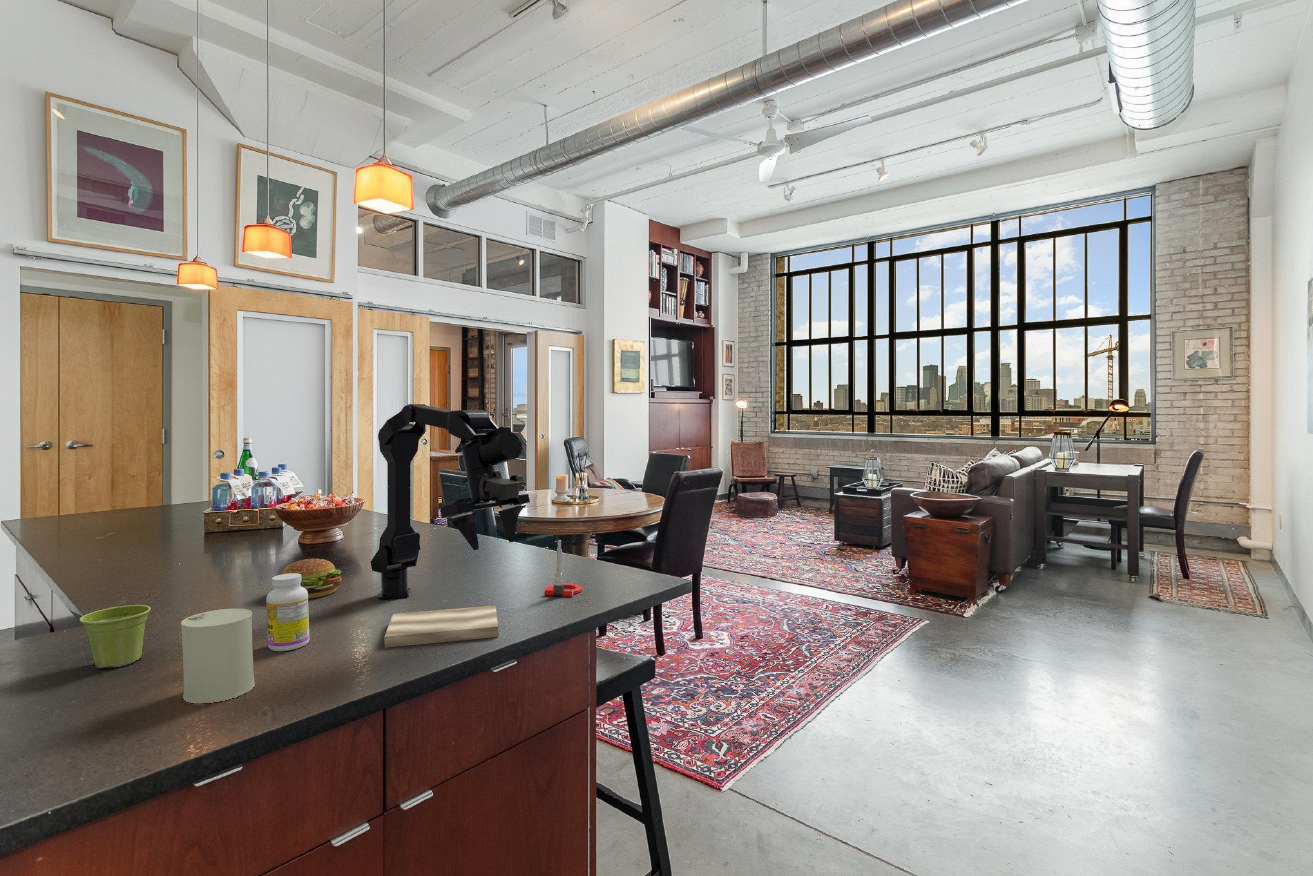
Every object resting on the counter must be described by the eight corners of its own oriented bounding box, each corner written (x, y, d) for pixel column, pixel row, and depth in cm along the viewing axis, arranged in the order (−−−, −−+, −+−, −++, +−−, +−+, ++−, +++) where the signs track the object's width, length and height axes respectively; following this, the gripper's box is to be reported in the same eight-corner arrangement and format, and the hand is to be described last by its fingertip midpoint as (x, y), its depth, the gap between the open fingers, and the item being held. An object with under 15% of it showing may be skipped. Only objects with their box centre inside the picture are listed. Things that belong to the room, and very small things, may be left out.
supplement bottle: (270, 642, 124) (268, 573, 123) (310, 637, 126) (308, 570, 126) (265, 654, 117) (263, 582, 117) (307, 649, 120) (305, 578, 120)
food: (310, 583, 166) (309, 551, 166) (353, 588, 161) (352, 556, 161) (259, 598, 153) (258, 564, 153) (305, 604, 148) (304, 568, 148)
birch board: (393, 623, 134) (393, 613, 134) (495, 614, 139) (495, 605, 139) (384, 647, 121) (384, 636, 120) (498, 636, 126) (498, 626, 126)
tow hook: (552, 587, 162) (540, 596, 153) (552, 534, 162) (540, 540, 153) (586, 589, 161) (575, 598, 152) (586, 535, 161) (576, 541, 152)
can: (205, 680, 106) (203, 606, 106) (266, 678, 107) (264, 604, 107) (168, 706, 97) (165, 624, 97) (235, 703, 98) (232, 622, 97)
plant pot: (95, 678, 107) (92, 625, 107) (72, 666, 112) (70, 615, 112) (162, 659, 115) (160, 610, 115) (138, 649, 120) (136, 602, 120)
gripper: (468, 465, 124) (483, 548, 122) (540, 458, 139) (555, 532, 137) (432, 477, 130) (446, 556, 128) (505, 469, 145) (518, 540, 144)
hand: (494, 546), depth 134 cm, fingers open, 9 cm apart
